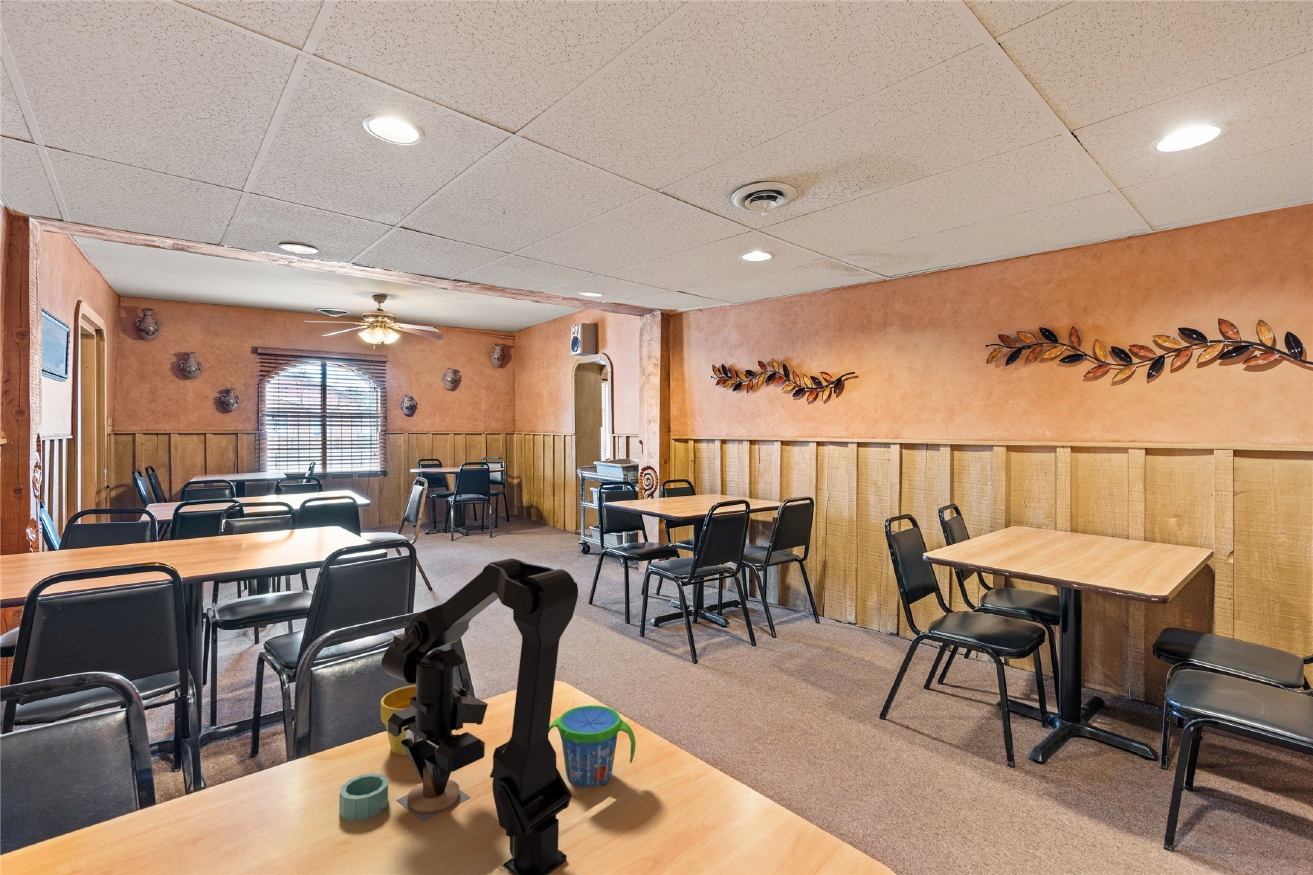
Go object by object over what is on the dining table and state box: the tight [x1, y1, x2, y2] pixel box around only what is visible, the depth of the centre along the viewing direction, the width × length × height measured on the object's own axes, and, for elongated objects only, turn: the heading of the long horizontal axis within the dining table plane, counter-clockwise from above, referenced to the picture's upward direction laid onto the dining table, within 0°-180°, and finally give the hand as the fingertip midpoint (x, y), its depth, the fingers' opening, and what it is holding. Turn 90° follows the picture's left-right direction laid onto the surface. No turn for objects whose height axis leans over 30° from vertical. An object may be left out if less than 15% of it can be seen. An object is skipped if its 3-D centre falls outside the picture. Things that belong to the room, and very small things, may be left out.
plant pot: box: [380, 684, 416, 756], centre depth 111 cm, size 10×10×10 cm
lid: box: [407, 765, 460, 814], centre depth 95 cm, size 8×8×5 cm
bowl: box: [338, 772, 390, 822], centre depth 93 cm, size 7×7×4 cm
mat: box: [395, 789, 471, 823], centre depth 95 cm, size 8×8×1 cm
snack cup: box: [549, 705, 636, 788], centre depth 103 cm, size 16×10×10 cm
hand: (433, 789), depth 95 cm, fingers closed on lid, 3 cm apart
